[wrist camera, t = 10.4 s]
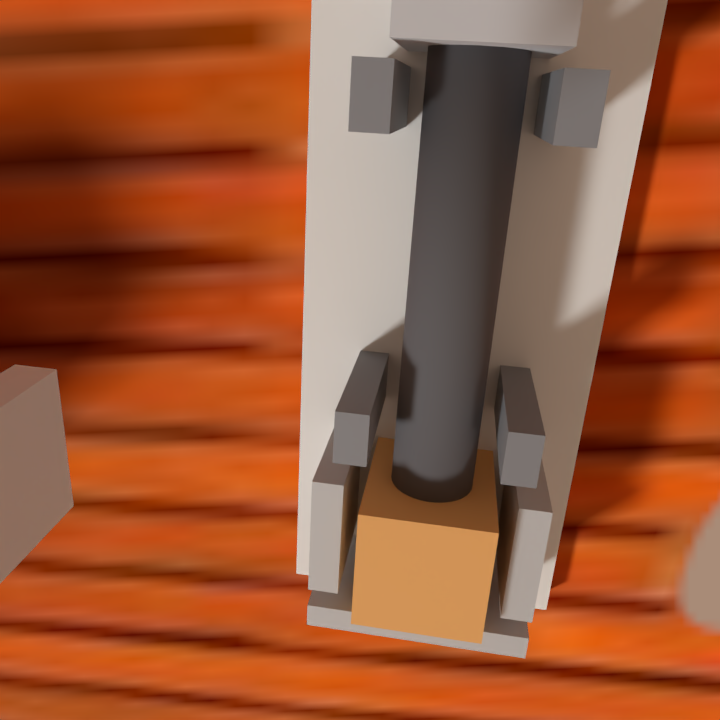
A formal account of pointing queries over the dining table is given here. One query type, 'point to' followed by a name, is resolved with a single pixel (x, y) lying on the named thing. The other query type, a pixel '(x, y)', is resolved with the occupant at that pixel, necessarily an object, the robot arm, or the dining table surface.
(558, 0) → the rod with end blocks
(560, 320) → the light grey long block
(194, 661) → the dining table surface
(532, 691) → the dining table surface
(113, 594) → the dining table surface
